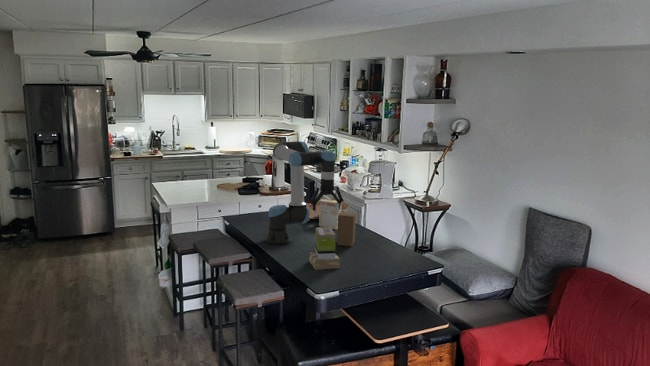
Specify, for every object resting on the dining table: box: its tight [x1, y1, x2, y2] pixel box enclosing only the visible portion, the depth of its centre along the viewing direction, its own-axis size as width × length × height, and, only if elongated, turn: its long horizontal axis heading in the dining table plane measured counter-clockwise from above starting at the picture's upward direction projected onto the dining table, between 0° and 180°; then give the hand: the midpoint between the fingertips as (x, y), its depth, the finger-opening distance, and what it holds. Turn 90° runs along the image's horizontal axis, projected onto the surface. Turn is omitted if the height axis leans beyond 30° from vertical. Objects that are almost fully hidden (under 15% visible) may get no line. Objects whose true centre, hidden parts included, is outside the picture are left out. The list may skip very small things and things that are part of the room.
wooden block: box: [336, 211, 357, 247], centre depth 325 cm, size 10×10×20 cm
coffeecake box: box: [318, 198, 343, 231], centre depth 362 cm, size 15×7×20 cm, turn 58°
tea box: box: [314, 227, 337, 260], centre depth 286 cm, size 15×10×15 cm, turn 9°
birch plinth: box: [308, 251, 341, 271], centre depth 287 cm, size 14×14×6 cm
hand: (326, 214), depth 286 cm, fingers open, 13 cm apart
